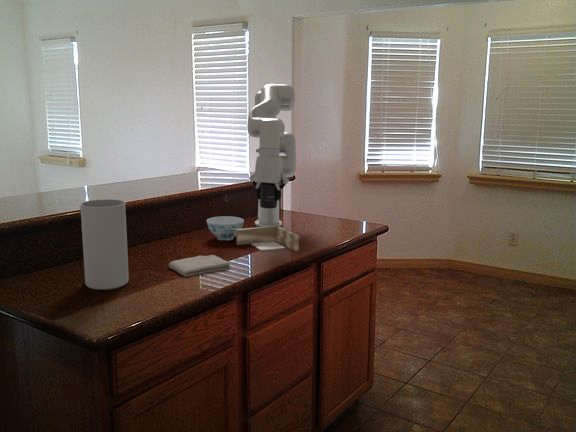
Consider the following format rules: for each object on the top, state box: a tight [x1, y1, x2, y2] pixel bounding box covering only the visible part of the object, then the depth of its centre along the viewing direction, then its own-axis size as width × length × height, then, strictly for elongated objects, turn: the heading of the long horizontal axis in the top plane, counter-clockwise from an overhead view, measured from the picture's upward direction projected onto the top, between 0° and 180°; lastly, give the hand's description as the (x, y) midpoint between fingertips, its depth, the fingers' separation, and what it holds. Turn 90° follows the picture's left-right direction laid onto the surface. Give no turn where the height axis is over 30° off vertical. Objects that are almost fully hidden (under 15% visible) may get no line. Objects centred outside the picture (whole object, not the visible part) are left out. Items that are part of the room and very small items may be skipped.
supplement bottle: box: [260, 183, 277, 209], centre depth 201 cm, size 7×7×12 cm
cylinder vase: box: [80, 198, 129, 291], centre depth 158 cm, size 12×12×25 cm
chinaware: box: [206, 215, 245, 242], centre depth 215 cm, size 15×15×8 cm
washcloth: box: [168, 254, 231, 278], centre depth 177 cm, size 12×18×3 cm, turn 128°
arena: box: [236, 225, 300, 252], centre depth 204 cm, size 18×18×6 cm
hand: (268, 199), depth 202 cm, fingers closed on supplement bottle, 6 cm apart
